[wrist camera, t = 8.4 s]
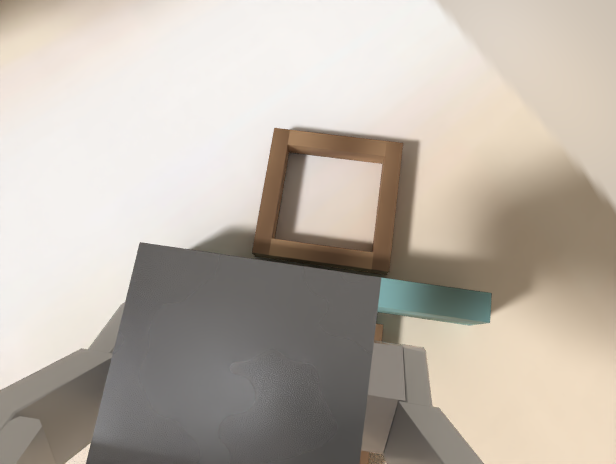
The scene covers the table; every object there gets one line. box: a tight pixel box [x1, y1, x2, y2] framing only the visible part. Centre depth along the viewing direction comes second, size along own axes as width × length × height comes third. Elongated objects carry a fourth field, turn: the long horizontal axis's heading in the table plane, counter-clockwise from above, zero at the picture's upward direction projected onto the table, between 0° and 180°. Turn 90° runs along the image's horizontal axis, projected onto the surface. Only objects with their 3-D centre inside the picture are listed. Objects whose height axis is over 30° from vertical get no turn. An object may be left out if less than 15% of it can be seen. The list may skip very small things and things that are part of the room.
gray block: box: [86, 242, 381, 464], centre depth 11 cm, size 4×4×8 cm
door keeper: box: [252, 128, 492, 464], centre depth 25 cm, size 18×19×4 cm
